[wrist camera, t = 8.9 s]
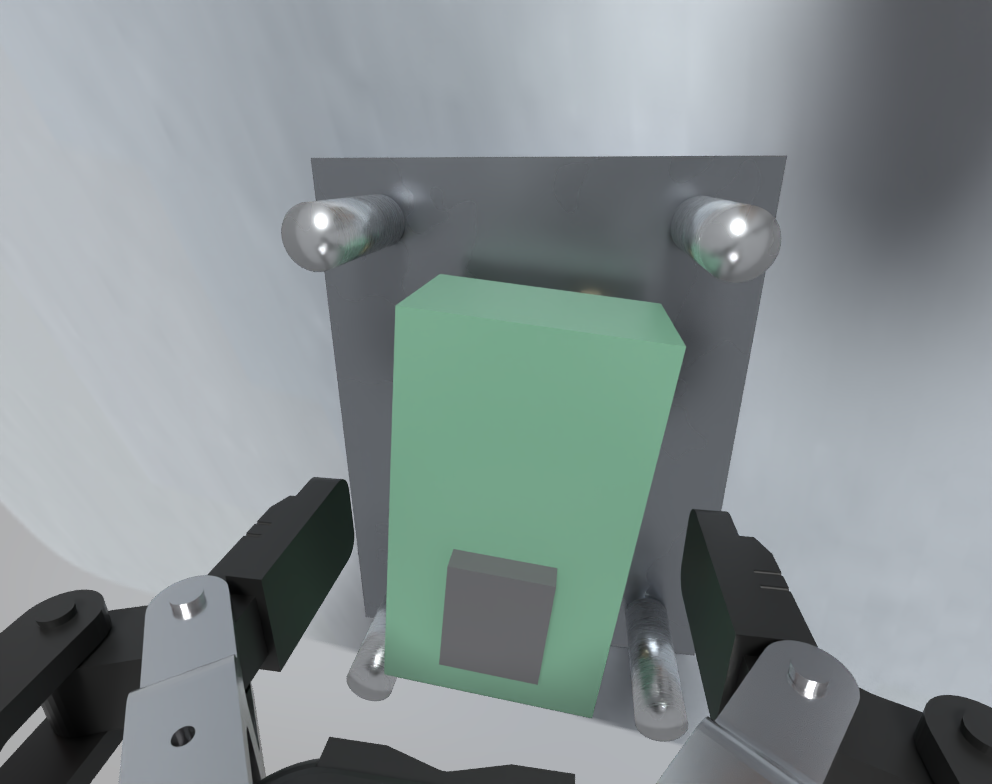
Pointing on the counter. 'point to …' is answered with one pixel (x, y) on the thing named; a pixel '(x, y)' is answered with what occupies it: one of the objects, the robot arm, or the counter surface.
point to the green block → (519, 483)
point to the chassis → (562, 266)
